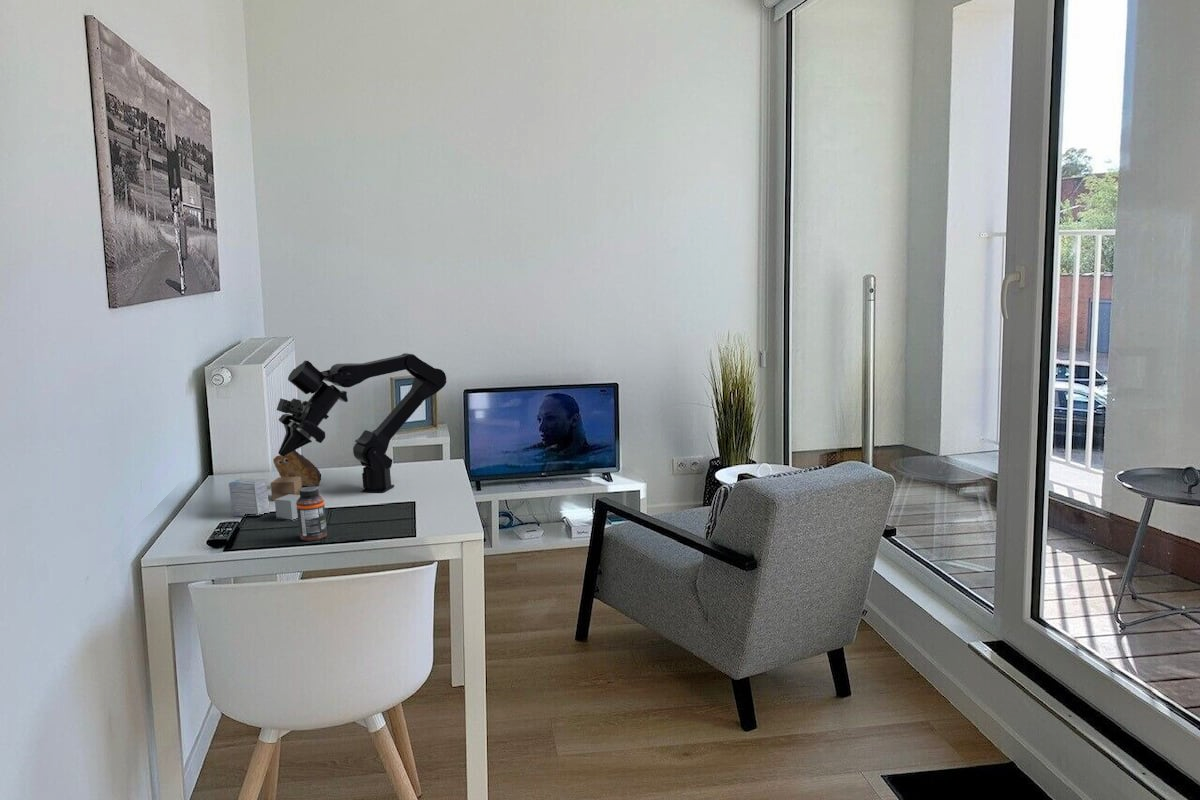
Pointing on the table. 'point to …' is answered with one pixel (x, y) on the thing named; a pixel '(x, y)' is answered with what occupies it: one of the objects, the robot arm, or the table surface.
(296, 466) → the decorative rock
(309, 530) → the supplement bottle
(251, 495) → the medicine box
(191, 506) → the table surface
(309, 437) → the robot arm
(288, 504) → the slate-grey block
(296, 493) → the walnut block
